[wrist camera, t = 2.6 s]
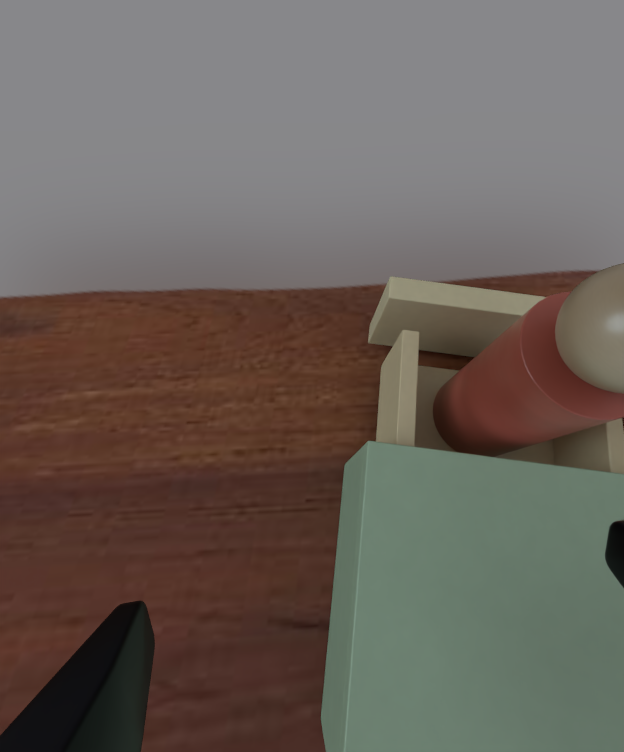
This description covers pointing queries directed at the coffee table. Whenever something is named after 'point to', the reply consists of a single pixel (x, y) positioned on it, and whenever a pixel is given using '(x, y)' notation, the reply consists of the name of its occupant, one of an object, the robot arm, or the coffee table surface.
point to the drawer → (459, 337)
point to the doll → (542, 373)
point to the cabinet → (474, 607)
